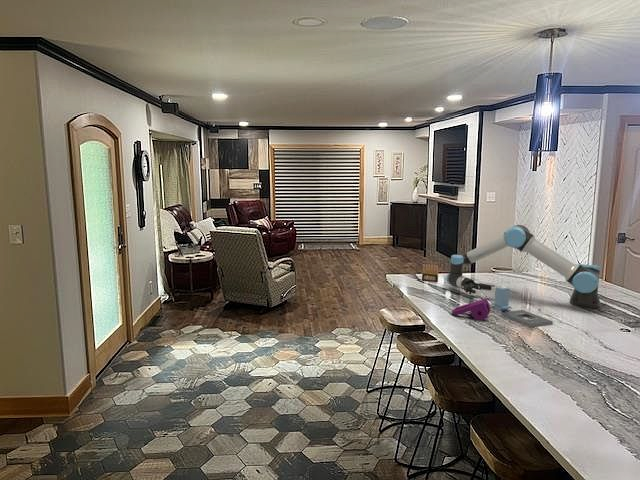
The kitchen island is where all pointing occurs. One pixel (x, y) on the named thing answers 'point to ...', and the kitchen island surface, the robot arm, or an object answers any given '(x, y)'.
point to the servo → (501, 298)
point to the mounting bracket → (475, 309)
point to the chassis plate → (531, 322)
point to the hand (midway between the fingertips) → (490, 292)
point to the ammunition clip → (430, 273)
